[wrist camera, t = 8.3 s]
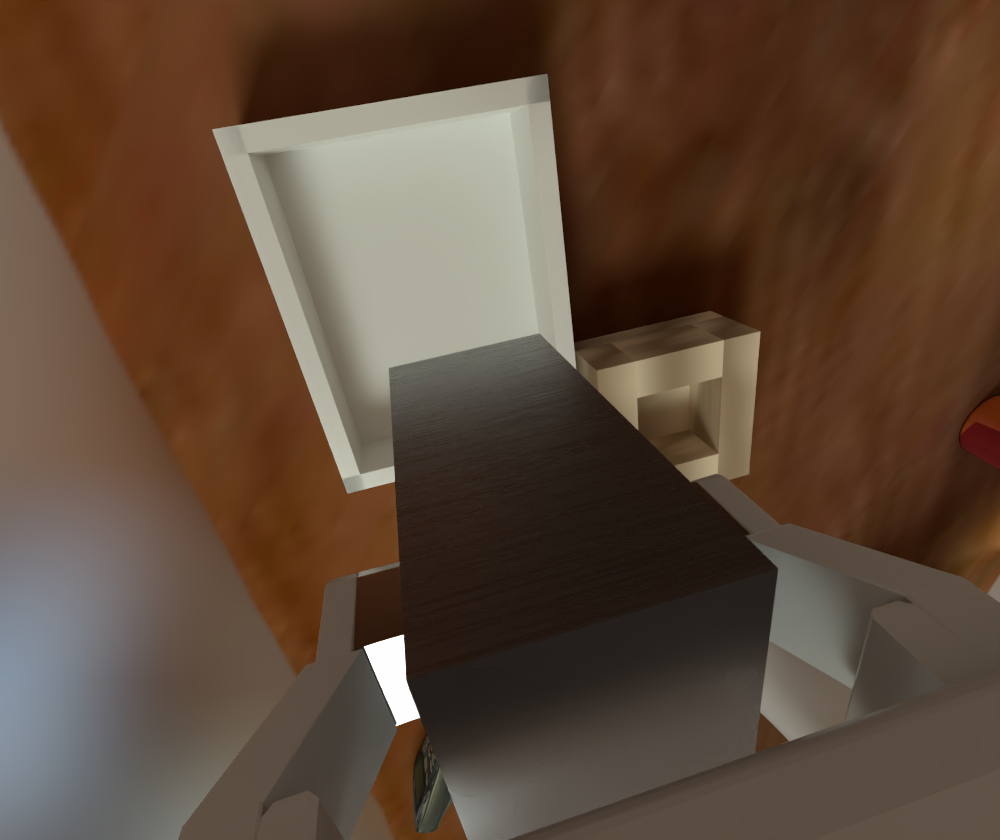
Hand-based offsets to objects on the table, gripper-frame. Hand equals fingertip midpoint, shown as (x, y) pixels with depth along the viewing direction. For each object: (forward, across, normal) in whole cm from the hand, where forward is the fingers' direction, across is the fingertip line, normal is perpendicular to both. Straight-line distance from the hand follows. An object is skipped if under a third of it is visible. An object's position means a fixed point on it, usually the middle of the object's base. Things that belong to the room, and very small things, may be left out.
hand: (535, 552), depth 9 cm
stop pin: (+6, 0, 0) cm, 6 cm away
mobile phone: (+23, -9, -40) cm, 47 cm away
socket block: (+23, +13, -10) cm, 28 cm away
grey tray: (+23, 0, 0) cm, 23 cm away
